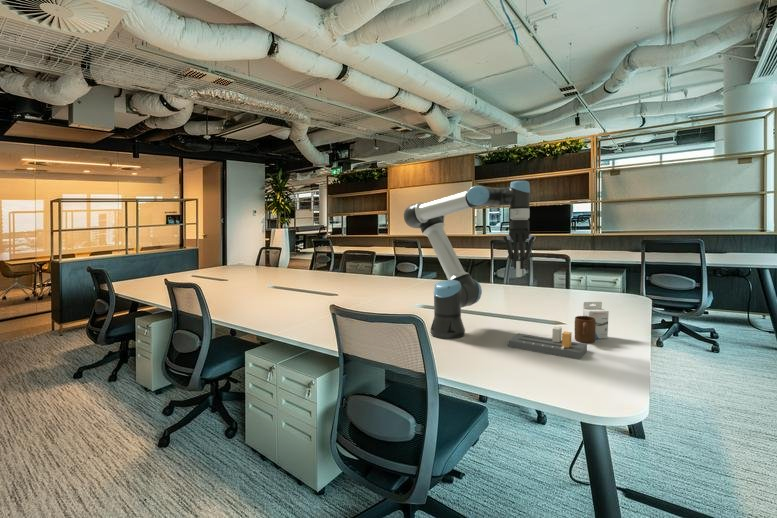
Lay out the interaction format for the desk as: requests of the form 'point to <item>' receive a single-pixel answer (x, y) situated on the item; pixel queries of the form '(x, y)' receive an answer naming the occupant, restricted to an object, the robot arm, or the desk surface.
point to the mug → (585, 329)
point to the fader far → (557, 334)
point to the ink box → (597, 318)
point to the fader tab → (566, 339)
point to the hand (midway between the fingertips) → (519, 276)
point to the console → (547, 346)
